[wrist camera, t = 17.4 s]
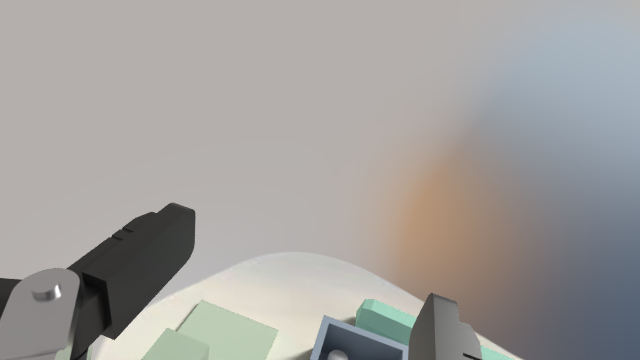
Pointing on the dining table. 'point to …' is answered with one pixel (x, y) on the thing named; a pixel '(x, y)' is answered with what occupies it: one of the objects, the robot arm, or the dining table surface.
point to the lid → (214, 337)
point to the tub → (354, 344)
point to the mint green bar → (398, 325)
